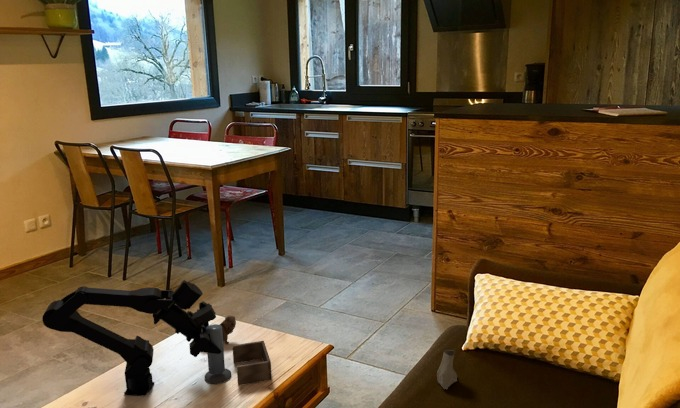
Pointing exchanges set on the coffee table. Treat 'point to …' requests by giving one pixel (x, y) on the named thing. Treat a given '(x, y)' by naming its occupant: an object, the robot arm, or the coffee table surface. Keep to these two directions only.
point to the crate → (254, 370)
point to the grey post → (216, 335)
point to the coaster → (218, 377)
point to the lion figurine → (228, 327)
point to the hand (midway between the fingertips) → (220, 348)
